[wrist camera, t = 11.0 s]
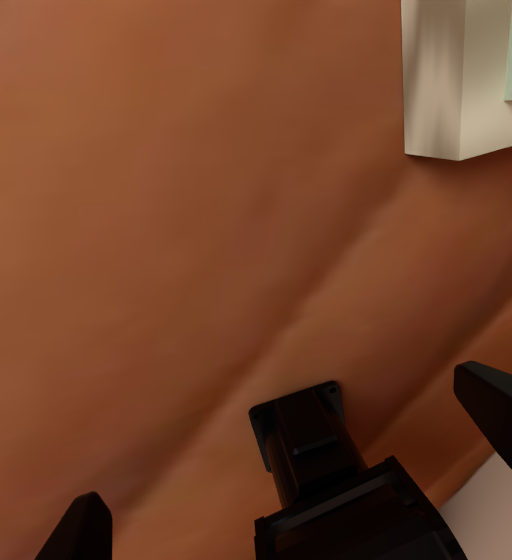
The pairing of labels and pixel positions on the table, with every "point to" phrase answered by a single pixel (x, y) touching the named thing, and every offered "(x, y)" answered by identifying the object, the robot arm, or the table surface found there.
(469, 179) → the table surface
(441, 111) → the beige square block
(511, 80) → the green cube
